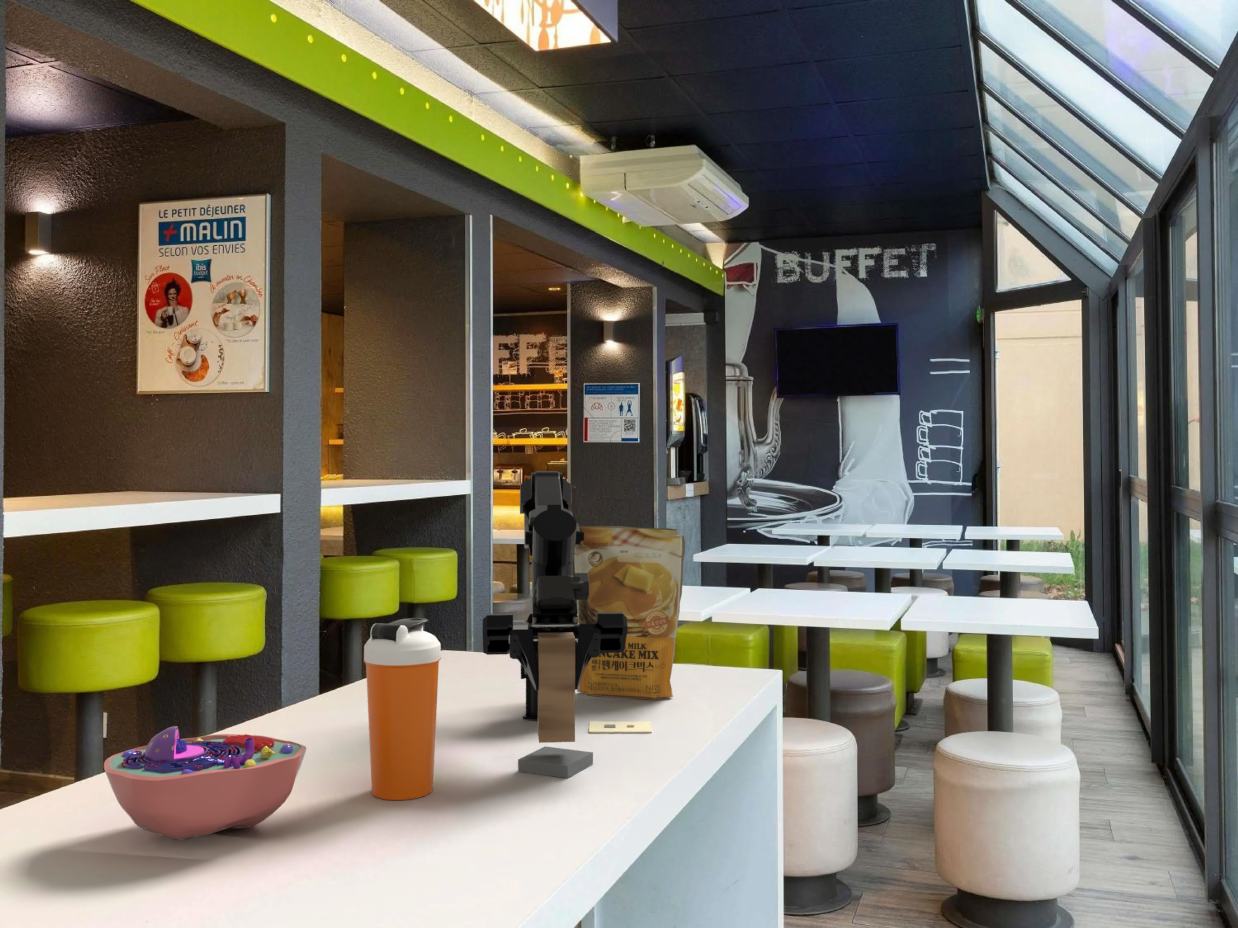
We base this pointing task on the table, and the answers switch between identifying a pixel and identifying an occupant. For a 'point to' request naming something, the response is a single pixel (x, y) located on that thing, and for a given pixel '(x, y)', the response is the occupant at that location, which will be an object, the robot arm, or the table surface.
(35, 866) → the table surface
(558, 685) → the pillar
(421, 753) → the shaker bottle
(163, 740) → the cell model
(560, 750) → the base plate
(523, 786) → the table surface
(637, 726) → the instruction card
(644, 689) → the pancake mix bag
